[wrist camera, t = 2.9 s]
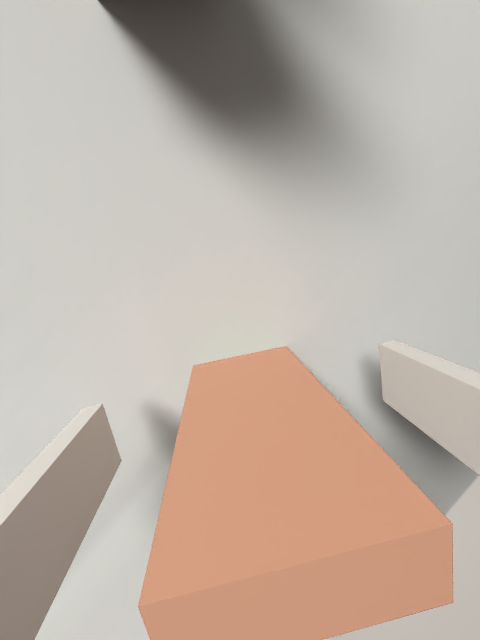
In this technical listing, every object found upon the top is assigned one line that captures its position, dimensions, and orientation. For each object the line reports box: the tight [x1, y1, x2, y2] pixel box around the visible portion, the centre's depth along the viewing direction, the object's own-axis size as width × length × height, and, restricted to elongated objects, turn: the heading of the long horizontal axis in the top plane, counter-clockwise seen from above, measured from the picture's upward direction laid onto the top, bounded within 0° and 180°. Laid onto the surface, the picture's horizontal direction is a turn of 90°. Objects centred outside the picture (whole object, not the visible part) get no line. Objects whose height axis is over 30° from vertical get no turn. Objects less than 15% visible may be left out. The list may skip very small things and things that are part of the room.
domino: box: [138, 346, 453, 640], centre depth 9 cm, size 2×5×10 cm, turn 100°
